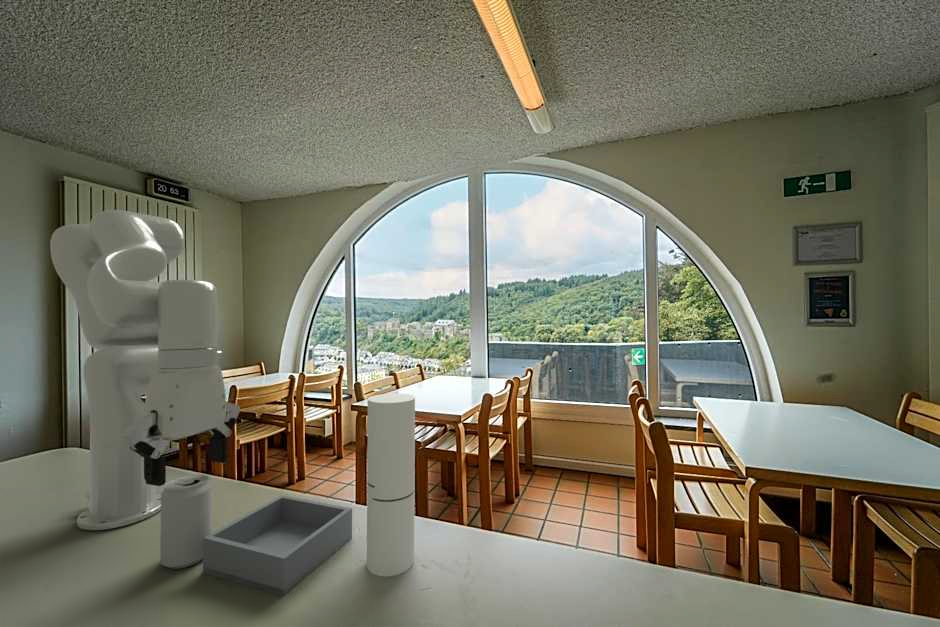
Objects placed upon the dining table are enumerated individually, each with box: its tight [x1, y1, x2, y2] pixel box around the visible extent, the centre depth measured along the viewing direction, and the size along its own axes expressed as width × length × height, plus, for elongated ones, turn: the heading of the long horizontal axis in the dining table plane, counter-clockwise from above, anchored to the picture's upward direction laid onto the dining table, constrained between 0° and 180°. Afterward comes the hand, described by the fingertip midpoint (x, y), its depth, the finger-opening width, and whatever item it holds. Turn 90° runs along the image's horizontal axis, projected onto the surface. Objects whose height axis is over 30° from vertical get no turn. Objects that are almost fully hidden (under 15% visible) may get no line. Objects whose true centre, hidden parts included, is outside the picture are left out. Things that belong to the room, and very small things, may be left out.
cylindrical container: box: [366, 393, 416, 578], centre depth 62 cm, size 7×7×25 cm
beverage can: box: [159, 474, 212, 570], centre depth 62 cm, size 6×6×12 cm
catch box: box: [202, 494, 353, 597], centre depth 63 cm, size 15×15×5 cm
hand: (189, 472), depth 62 cm, fingers open, 9 cm apart
